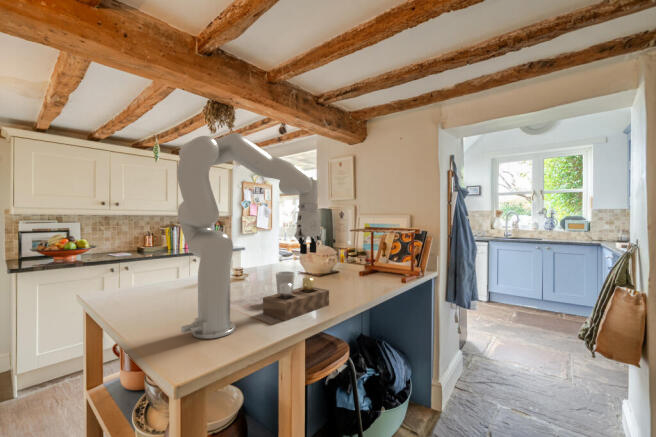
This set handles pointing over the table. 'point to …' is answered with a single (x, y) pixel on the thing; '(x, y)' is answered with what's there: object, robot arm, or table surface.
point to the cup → (284, 278)
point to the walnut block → (295, 303)
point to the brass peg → (308, 285)
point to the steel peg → (286, 290)
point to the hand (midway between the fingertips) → (308, 252)
